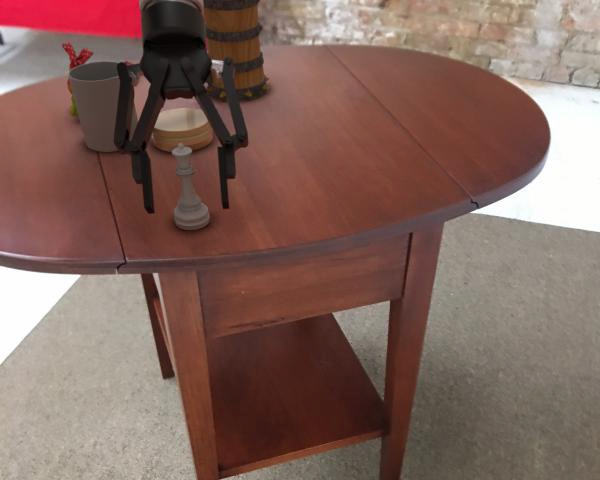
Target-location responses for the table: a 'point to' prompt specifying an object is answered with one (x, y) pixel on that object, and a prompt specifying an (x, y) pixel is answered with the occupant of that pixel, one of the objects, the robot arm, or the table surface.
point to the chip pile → (182, 129)
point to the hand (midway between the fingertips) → (187, 207)
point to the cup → (98, 103)
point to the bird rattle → (74, 63)
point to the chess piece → (188, 194)
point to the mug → (235, 46)
